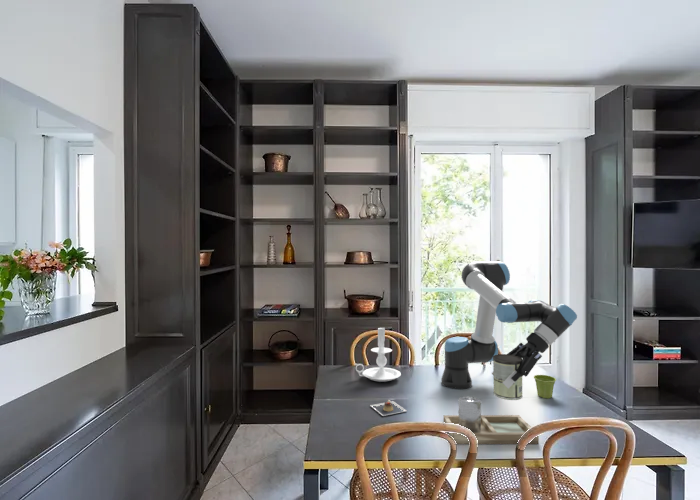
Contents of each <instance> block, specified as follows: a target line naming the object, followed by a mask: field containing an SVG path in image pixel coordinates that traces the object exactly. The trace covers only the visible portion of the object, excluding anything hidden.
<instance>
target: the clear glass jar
mask: <svg viewBox="0 0 700 500" xmlns="http://www.w3.org/2000/svg"><path fill="white" fill-rule="evenodd" d="M481 404H482V401H481V400H480V399H479V398H478V397H474V396H460V397H459V398H458V415H459V425H461V426H464V427H466V428H468V429H470V430H471V431H472V432H473V433H480V432H481V415H482V408H481V407H482V405H481Z"/></svg>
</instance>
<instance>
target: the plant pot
mask: <svg viewBox="0 0 700 500" xmlns="http://www.w3.org/2000/svg"><path fill="white" fill-rule="evenodd" d="M533 379H534V381H535V387H536V393H537V394H536V395H537V396H538V397H539V398H540V397H541V398H542V399H550V398H553V393H554V388H555V387H554V385H555V384H556V381H557V379H556V377H554V376H551V375H546V374H536V375H534V376H533Z"/></svg>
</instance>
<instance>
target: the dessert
mask: <svg viewBox="0 0 700 500" xmlns="http://www.w3.org/2000/svg"><path fill="white" fill-rule="evenodd" d="M393 404H394V406H395V407H396V406H397V407H396V408H397V409H399V408H400V409H401V410H400V409H399V410H400V411H399V412H398V411H397V412H394V413H393V412H392V411H394V407H393ZM380 405H382V406H383V408H382V410H383V411H384V412H392V413H388V414H383V413H382V412H381V411H379V410H378V409H376V408H375V407H373V406H376V407H381V406H380ZM369 406H370V407H371V408H372V409H373V410H375V412H377V413H378V414H380V415H381V416H382V417H385V416H392V415H396V414H401V413H405V412H408V410H407V409H405V408H404V407H403V406H401V405H400V404H398V403H397V402H396V401H393V400H392V401H391V400H390V399H387V401H385V402H380V403H376V404H370V405H369ZM402 410H403V411H402Z"/></svg>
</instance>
